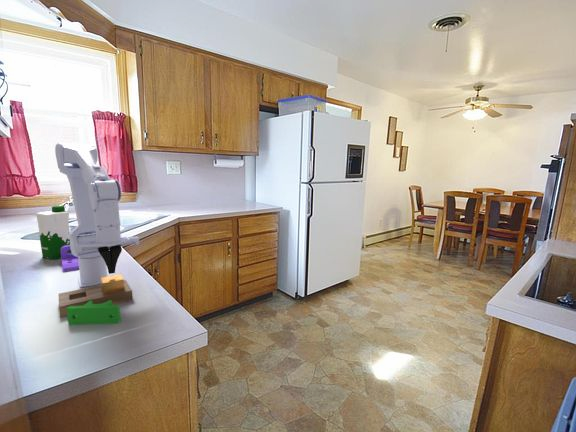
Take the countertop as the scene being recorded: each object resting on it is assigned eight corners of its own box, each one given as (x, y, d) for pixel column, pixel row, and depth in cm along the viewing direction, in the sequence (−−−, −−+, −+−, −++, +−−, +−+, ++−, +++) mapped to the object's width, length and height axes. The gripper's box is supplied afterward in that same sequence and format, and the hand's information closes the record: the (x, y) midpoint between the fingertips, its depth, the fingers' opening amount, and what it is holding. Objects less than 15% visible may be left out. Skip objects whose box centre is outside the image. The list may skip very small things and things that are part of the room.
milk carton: (76, 254, 118) (71, 206, 114) (50, 260, 109) (44, 209, 106) (63, 251, 121) (58, 205, 118) (38, 257, 113) (31, 207, 110)
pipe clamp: (125, 316, 72) (124, 299, 71) (118, 325, 68) (117, 307, 67) (78, 317, 71) (76, 300, 70) (68, 326, 67) (66, 308, 66)
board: (59, 304, 77) (58, 293, 76) (126, 289, 87) (125, 280, 86) (60, 318, 70) (58, 306, 69) (132, 300, 80) (132, 290, 79)
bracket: (62, 263, 108) (60, 246, 107) (84, 260, 112) (82, 243, 111) (63, 272, 99) (61, 254, 98) (87, 268, 103) (85, 250, 102)
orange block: (102, 296, 81) (100, 277, 80) (122, 292, 84) (120, 273, 83) (104, 303, 77) (102, 283, 76) (125, 298, 80) (123, 279, 79)
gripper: (75, 230, 70) (80, 283, 72) (140, 224, 79) (143, 271, 81) (73, 225, 75) (78, 274, 77) (134, 220, 84) (137, 264, 86)
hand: (111, 272), depth 80 cm, fingers closed
